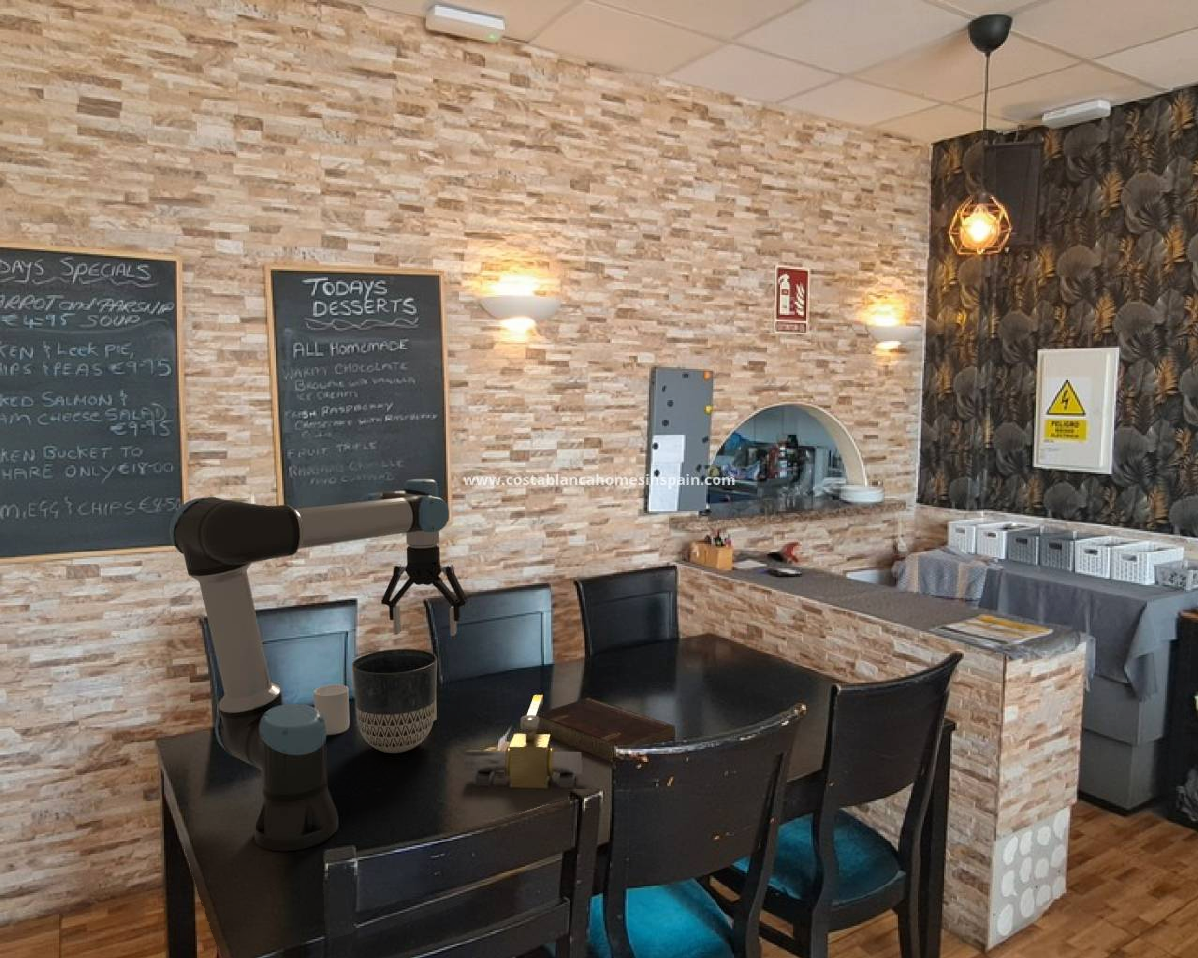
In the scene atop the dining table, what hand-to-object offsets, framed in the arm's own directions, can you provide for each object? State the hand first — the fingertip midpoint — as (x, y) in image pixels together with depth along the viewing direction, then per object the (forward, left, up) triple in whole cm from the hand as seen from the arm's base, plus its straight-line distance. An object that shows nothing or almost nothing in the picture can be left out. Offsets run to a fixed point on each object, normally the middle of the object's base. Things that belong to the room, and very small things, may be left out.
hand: (425, 634), depth 204 cm
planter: (-2, +7, -28) cm, 29 cm away
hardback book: (+7, -42, -28) cm, 51 cm away
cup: (+11, +28, -28) cm, 41 cm away
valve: (-18, -25, -27) cm, 41 cm away
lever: (-11, -27, -16) cm, 33 cm away
